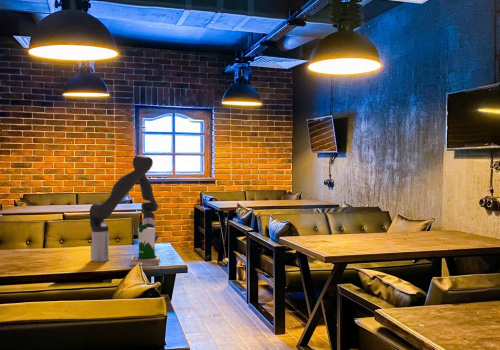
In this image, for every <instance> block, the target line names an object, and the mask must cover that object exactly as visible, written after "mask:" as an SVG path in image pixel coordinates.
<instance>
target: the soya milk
mask: <svg viewBox="0 0 500 350" xmlns="http://www.w3.org/2000/svg"><path fill="white" fill-rule="evenodd" d="M137 233H138V236H139V240H138V257H137V259H138V260H142V259H156V248H155V243H156V242H155V235H156V227H155V228H151V227H147V225H143V224H140V225H139V227H138V228H137Z"/></svg>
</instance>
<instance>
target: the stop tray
mask: <svg viewBox="0 0 500 350" xmlns="http://www.w3.org/2000/svg"><path fill="white" fill-rule="evenodd" d="M160 261H161V255H160V254H159V253H158V254H157V256H156V258H153V259H136V255H135V254H133V255H132V256H131V257H130V259H129V262H130V263H129V265H130V266H132V267H133V266H134V265H137V264H138V263H139V262H141V263H142V265H141V266H159V265H160ZM137 266H138V265H137Z"/></svg>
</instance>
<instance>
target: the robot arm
mask: <svg viewBox="0 0 500 350" xmlns="http://www.w3.org/2000/svg"><path fill="white" fill-rule="evenodd" d="M153 162H154V161H153V159H152V157H150V156H146V155H142V154H137V155H135V156H134V157H133V160H132V166H133V169H134V170H132V171H130V172H129V173H126V174H124V175H122V176H121V177H120V178H119V179H118V180H117V181H116V182H115V183H114V185H112V188H111V189H112V190H111V193H110V195H109V197H108V198H107V199H106V200H105V201H104V202H103V203H101V202H100V203H99V202H95V203H93V204H92V205H91V206H90V208H89V226H90V228H91V244H90V261H92V262H95V263H99V262H108V261H109V257H110V256H109V253H110V251H109V243H110V242H109V226H108V224H107V223H106V222H105V220H107V219H108V218H109V217H110V216H111V215H112V214H113V212H114V211H115V209H116V207H118V205H119V203H120V202H121V201H122V200H123V199H124V198H125V197H126V195H127V194H128V193H130V191H131V190H132V188H133V187H134V186H135V185H136V184H137V183H139V187H140V192H141V197H142V200H144V201H143V202H142V203H141V211H142V214H143V220H142V221H143V222H142V225H147V227H151V228H156V223H155V220H156V218H155V217H156V215H155V213H156V212H157V211H158V209H159V205H158V203H157V200H156V198H155V196H154V194H153V193H154V192H153V187H152V184H151V182H150V181H149V179H148V178H147V175H146V174H147V173H148V172H149V171H150V170H151V168H152V167H153ZM154 212H155V213H154ZM137 240H138V241H139V235H138V236H137ZM158 240H159V235H156V234H155V243H156V242H157V241H158Z"/></svg>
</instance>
